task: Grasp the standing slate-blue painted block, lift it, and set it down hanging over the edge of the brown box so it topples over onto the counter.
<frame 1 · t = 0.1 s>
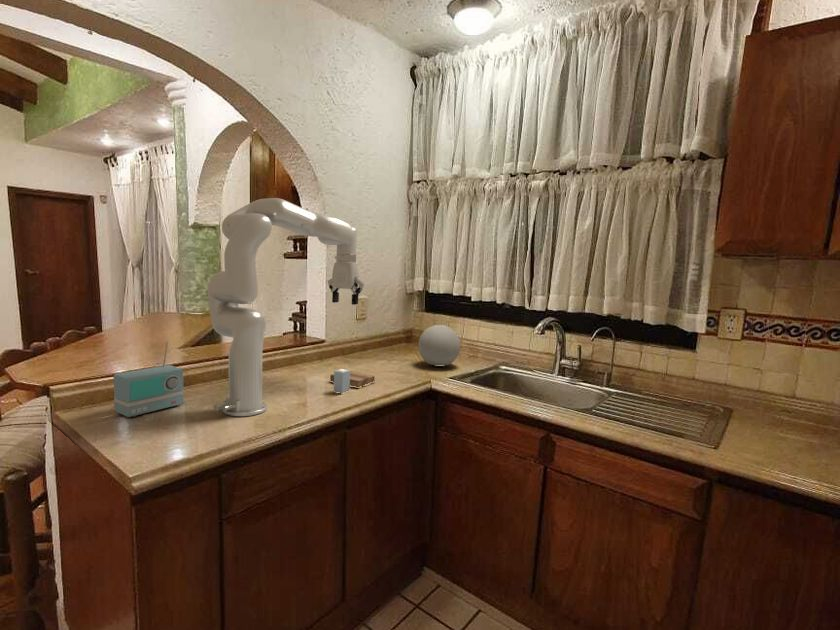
hand: (345, 303, 166), 31 cm above the counter, fingers open, 9 cm apart
radio: (151, 411, 128), on the counter
brown box: (352, 382, 167), on the counter
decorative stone: (438, 366, 203), on the counter
block: (341, 392, 155), on the counter
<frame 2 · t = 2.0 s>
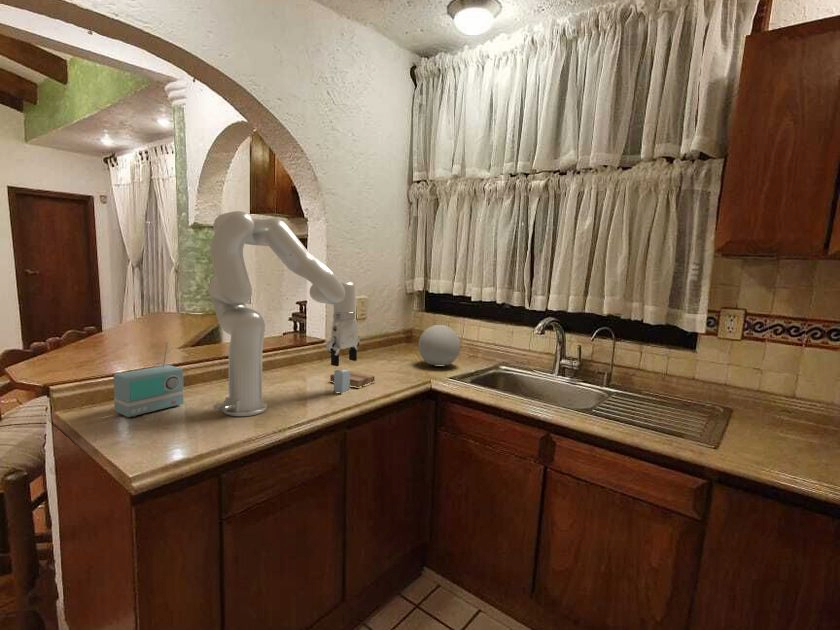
hand: (344, 362, 154), 11 cm above the counter, fingers open, 9 cm apart
nothing on the counter moved.
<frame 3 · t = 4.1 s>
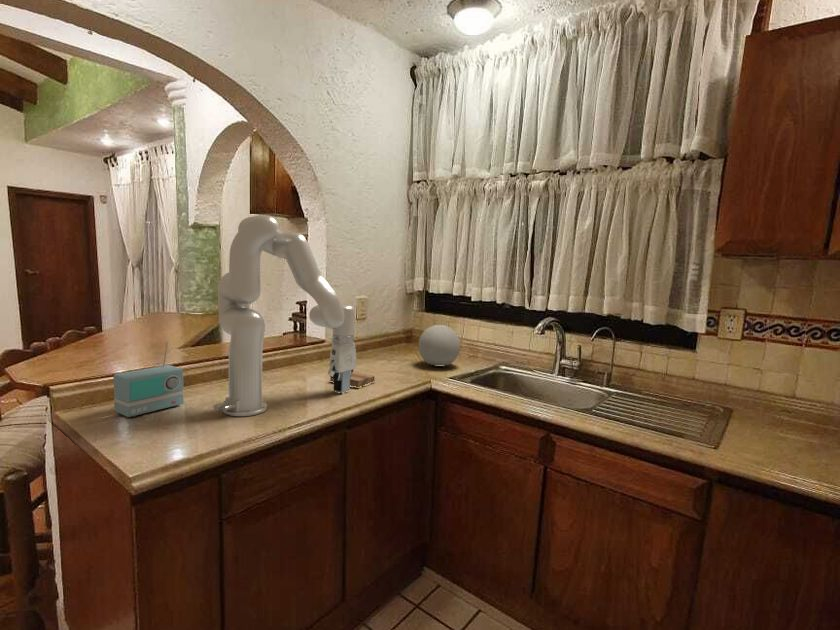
hand: (341, 388, 154), 1 cm above the counter, fingers closed on block, 4 cm apart
block: (341, 392, 155), on the counter, touching gripper
everything else where it was.
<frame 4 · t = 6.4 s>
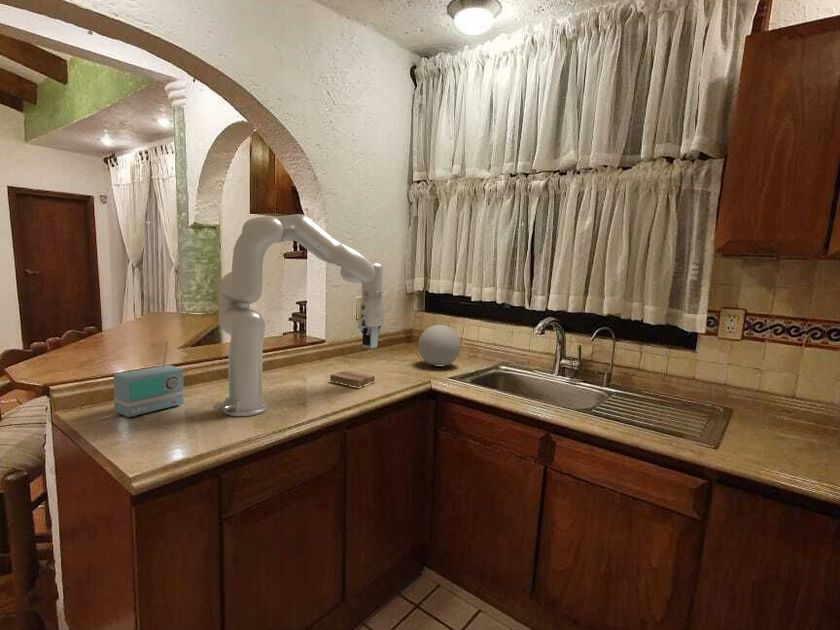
hand: (370, 343, 162), 17 cm above the counter, fingers closed on block, 4 cm apart
block: (370, 347, 162), point 15 cm above the counter, touching gripper
everything else where it was.
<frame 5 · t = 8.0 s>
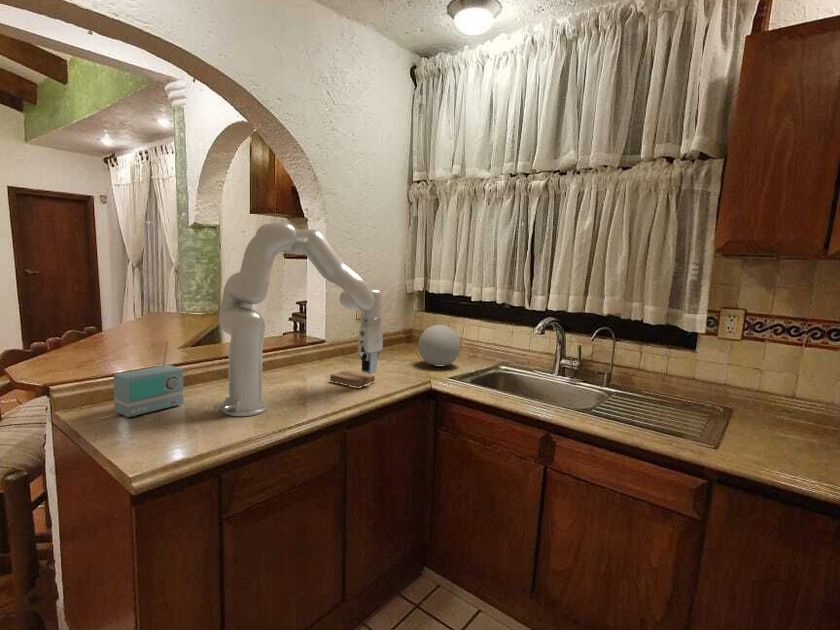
hand: (369, 368, 163), 7 cm above the counter, fingers closed on block, 4 cm apart
block: (369, 372, 163), point 6 cm above the counter, touching gripper
everything else where it was.
when the fingers open (6 cm above the counter, at t = 8.9 s): block drops 3 cm and tips over, point 2 cm above the counter.
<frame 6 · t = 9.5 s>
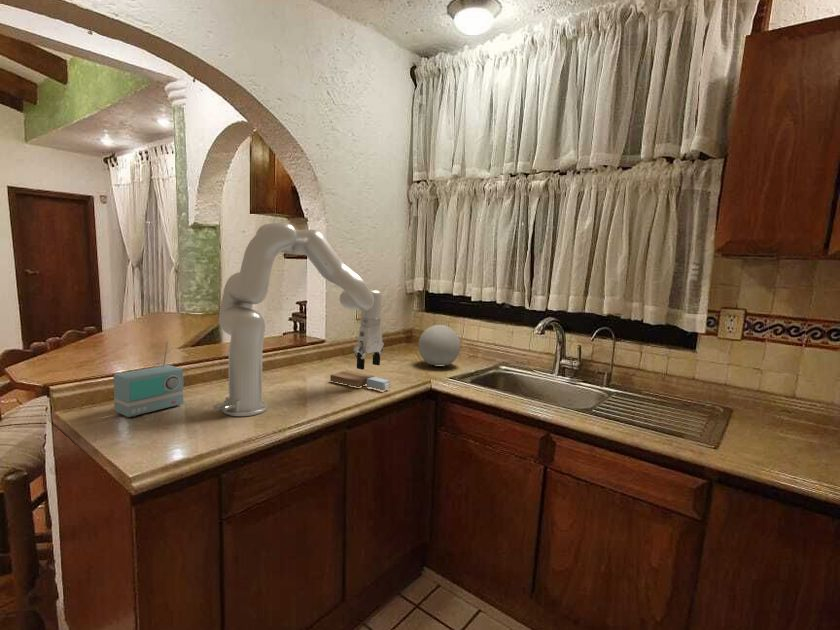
hand: (368, 366, 162), 8 cm above the counter, fingers open, 9 cm apart
block: (370, 382, 162), point 2 cm above the counter, tilted 90°
everything else where it was.
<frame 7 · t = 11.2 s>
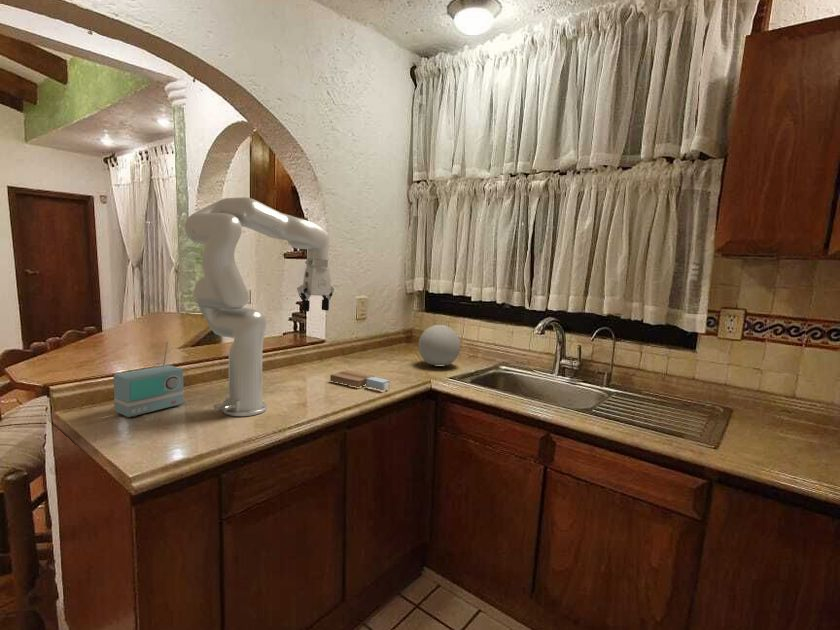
hand: (315, 310, 158), 29 cm above the counter, fingers open, 9 cm apart
nothing on the counter moved.
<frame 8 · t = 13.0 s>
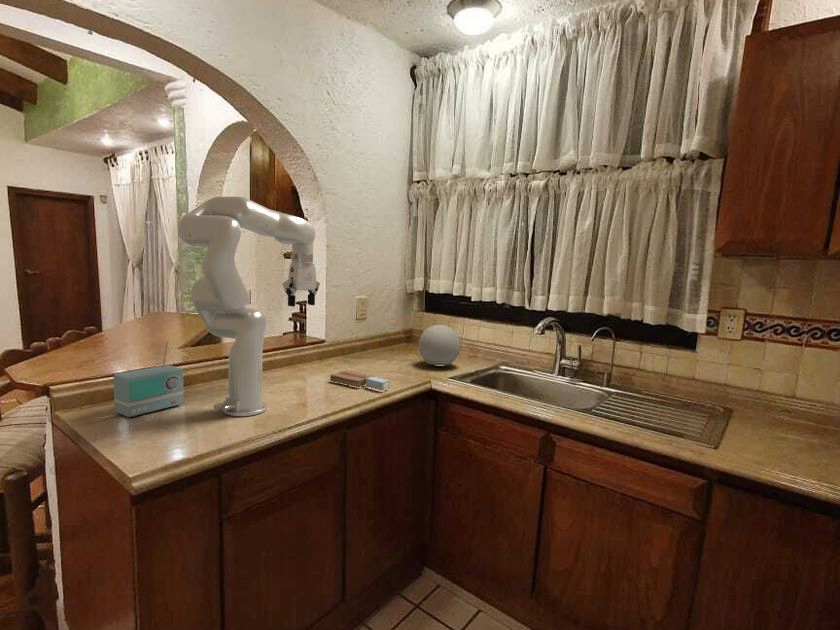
hand: (301, 305, 158), 30 cm above the counter, fingers open, 9 cm apart
nothing on the counter moved.
at the end: block tilted 90°; block inside the target area (6.9 cm from its centre), point 1.8 cm above the counter; the gripper is holding nothing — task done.
